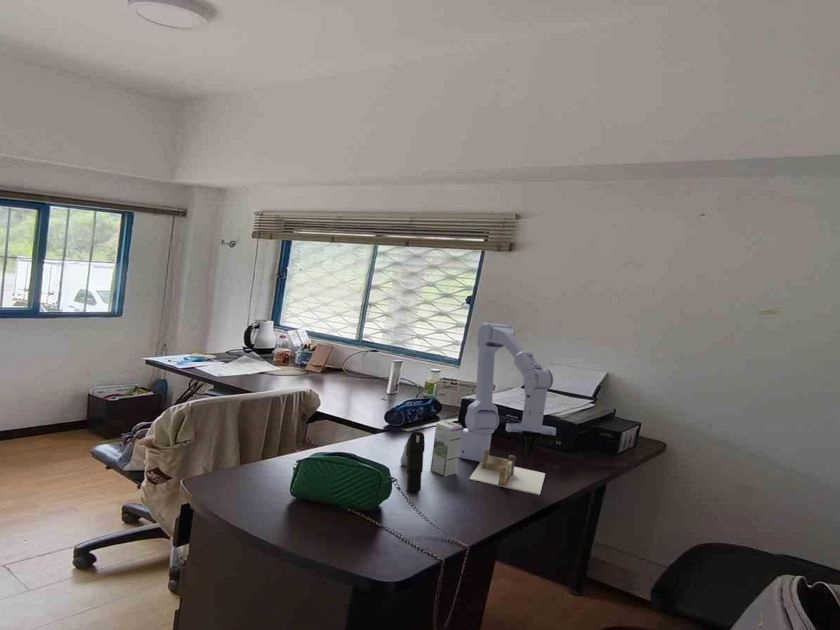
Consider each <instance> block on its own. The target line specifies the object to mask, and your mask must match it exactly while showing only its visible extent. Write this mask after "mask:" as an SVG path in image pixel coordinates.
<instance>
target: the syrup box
mask: <svg viewBox="0 0 840 630" xmlns="http://www.w3.org/2000/svg"><path fill="white" fill-rule="evenodd" d="M462 432H463V425H460V424H458V423H454V422H452V421H448V420H446V421H443V420H442V421H438V422H436V424H435V432H434V439H433V440H434V441H433V448H432V454H431V456H432V457H431V461H430V462H431V463H430V471H431V472H433V473H436V474H437V473H438V474H437V475H440V476H442V477H449V475H450V476H454V475H456V474H457V472H458V465H459V463H458V462H459V457H458V456H459V449H460V442H461V436H462ZM453 474H454V475H453Z"/></svg>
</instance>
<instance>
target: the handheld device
mask: <svg viewBox="0 0 840 630" xmlns="http://www.w3.org/2000/svg"><path fill="white" fill-rule="evenodd" d="M424 452H425V434H424V433H423V432H421V431H413V432H411V434H410V435H409V437H408V439H407V441H406V443H405V445H404V449H403V452H402V454H401V458H400V466H401V465H403V466H402V467H406V474H407V479H406V481H407V482H406V492H408V491H412V492H411V493H420V492H421V490H422V489H421V488H422V473H423V466H424Z"/></svg>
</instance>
